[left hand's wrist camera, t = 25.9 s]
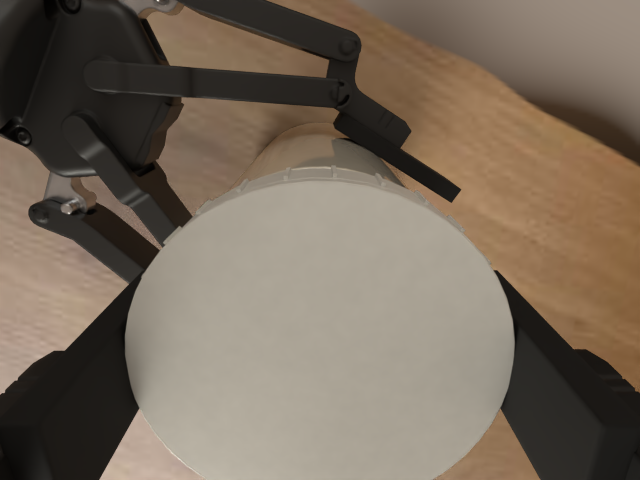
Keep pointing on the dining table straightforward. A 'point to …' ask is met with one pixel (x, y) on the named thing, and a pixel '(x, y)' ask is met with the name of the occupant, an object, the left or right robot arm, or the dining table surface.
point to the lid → (319, 333)
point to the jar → (316, 154)
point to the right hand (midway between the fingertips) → (391, 266)
